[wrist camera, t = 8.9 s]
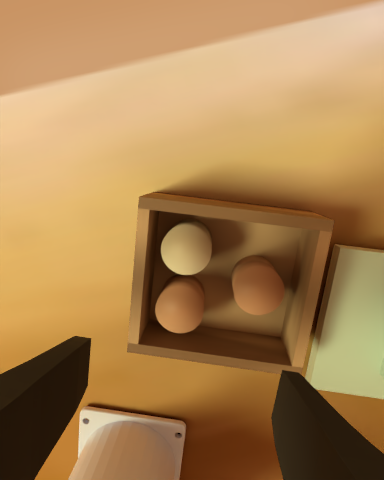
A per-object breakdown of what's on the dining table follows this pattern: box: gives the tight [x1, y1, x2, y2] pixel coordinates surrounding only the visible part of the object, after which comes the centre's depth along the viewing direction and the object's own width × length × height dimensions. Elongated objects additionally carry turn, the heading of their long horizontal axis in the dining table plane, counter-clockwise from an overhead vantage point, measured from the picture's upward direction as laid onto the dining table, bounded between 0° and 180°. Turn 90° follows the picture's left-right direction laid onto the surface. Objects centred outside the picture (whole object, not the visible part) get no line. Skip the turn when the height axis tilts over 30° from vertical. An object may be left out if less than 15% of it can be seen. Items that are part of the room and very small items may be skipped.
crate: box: [127, 192, 334, 374], centre depth 19 cm, size 9×10×4 cm
